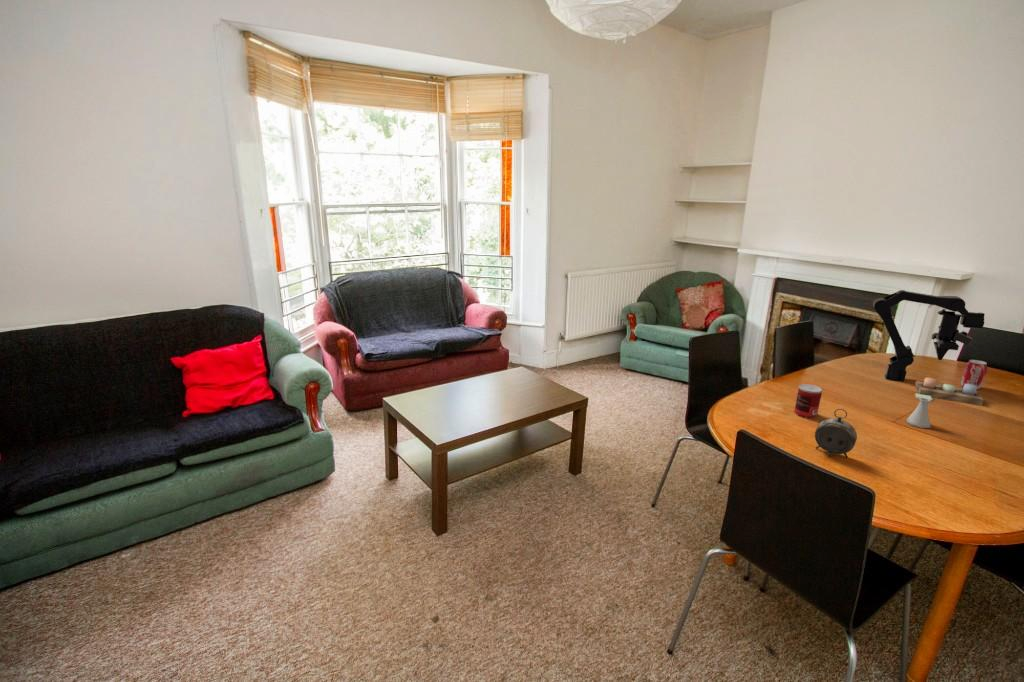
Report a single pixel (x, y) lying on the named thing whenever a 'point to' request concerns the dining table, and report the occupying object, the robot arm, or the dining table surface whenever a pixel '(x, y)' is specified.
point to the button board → (949, 394)
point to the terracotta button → (929, 383)
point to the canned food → (808, 400)
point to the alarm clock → (835, 436)
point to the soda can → (974, 373)
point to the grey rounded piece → (969, 389)
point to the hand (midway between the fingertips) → (939, 359)
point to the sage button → (948, 387)
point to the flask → (920, 415)
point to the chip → (923, 396)
